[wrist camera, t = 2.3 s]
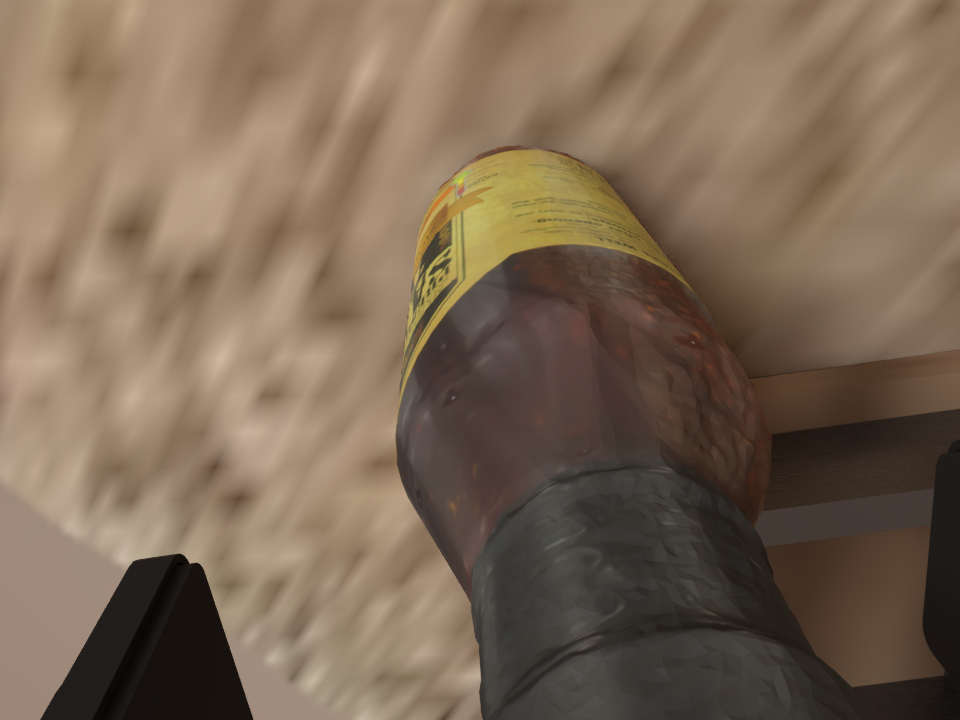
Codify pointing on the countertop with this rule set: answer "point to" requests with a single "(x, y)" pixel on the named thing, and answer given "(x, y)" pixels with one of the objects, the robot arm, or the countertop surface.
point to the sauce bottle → (592, 462)
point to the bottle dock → (862, 519)
